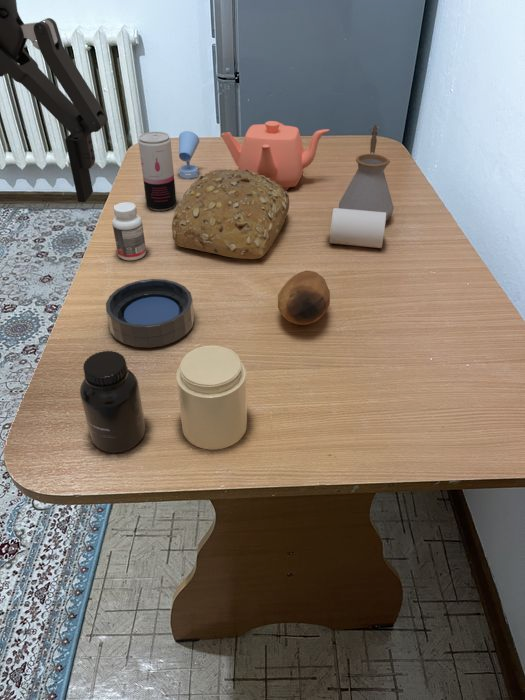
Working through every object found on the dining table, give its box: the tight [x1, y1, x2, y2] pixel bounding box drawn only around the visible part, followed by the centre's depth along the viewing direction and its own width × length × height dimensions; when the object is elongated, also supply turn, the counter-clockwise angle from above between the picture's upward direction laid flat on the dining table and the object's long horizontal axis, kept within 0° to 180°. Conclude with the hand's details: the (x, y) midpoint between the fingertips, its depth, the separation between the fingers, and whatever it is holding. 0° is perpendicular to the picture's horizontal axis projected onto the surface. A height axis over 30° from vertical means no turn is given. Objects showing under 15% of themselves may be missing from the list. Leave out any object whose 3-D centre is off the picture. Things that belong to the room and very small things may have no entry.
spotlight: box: [178, 130, 200, 180], centre depth 136 cm, size 5×10×7 cm
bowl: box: [105, 278, 195, 349], centre depth 89 cm, size 13×13×4 cm
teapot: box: [221, 120, 330, 191], centre depth 131 cm, size 18×18×14 cm
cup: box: [329, 207, 387, 249], centre depth 110 cm, size 7×7×10 cm
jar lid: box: [124, 297, 180, 325], centre depth 90 cm, size 9×9×2 cm
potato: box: [277, 270, 331, 326], centre depth 90 cm, size 8×14×8 cm
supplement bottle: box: [79, 350, 146, 453], centre depth 69 cm, size 7×7×12 cm
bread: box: [171, 168, 290, 260], centre depth 111 cm, size 24×21×12 cm
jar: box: [175, 344, 248, 450], centre depth 70 cm, size 8×8×10 cm
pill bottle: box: [111, 201, 147, 261], centre depth 105 cm, size 5×5×10 cm
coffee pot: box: [338, 124, 395, 221], centre depth 120 cm, size 21×12×15 cm, turn 169°
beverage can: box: [137, 131, 177, 212], centre depth 120 cm, size 7×7×15 cm
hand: (23, 194), depth 61 cm, fingers open, 13 cm apart
